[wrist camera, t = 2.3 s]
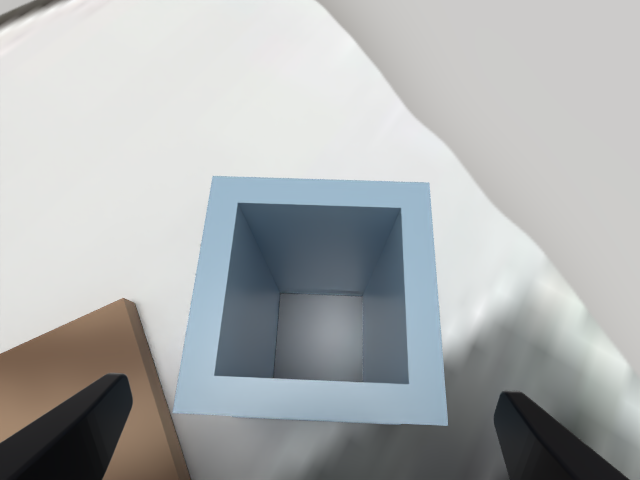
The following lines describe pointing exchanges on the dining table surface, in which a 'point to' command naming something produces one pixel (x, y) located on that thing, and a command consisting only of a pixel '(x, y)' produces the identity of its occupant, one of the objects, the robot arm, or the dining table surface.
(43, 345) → the locating plate
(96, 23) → the dining table surface
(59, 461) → the robot arm
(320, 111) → the dining table surface
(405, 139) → the dining table surface
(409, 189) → the light blue square holder
